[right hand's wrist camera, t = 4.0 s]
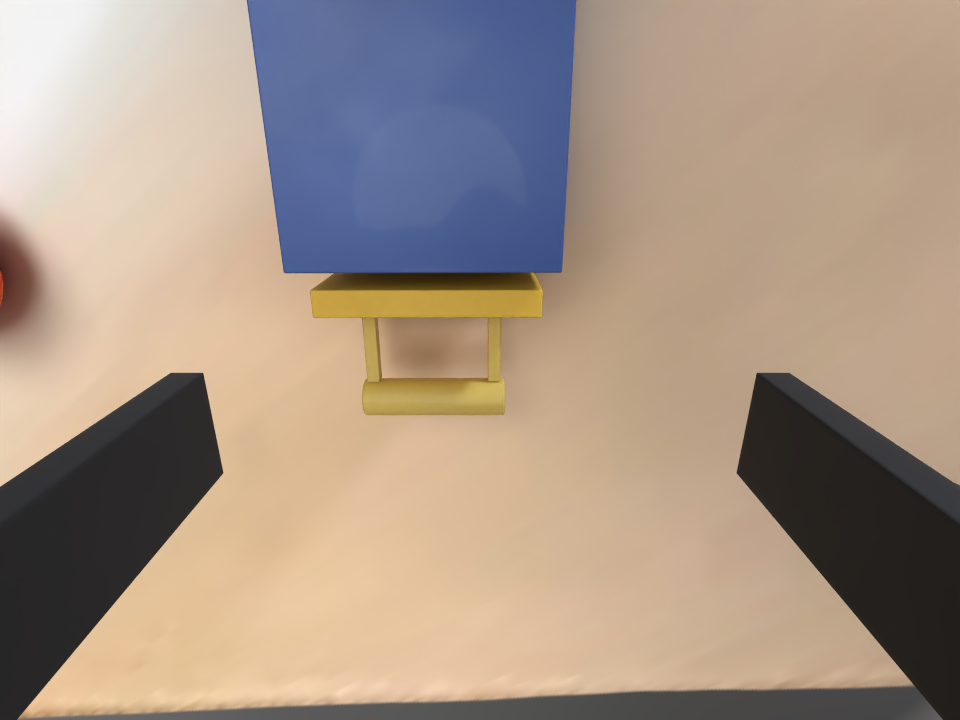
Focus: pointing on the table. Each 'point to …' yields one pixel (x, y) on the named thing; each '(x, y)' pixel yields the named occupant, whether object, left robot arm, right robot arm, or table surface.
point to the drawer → (429, 300)
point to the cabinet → (417, 132)
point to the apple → (1, 288)
